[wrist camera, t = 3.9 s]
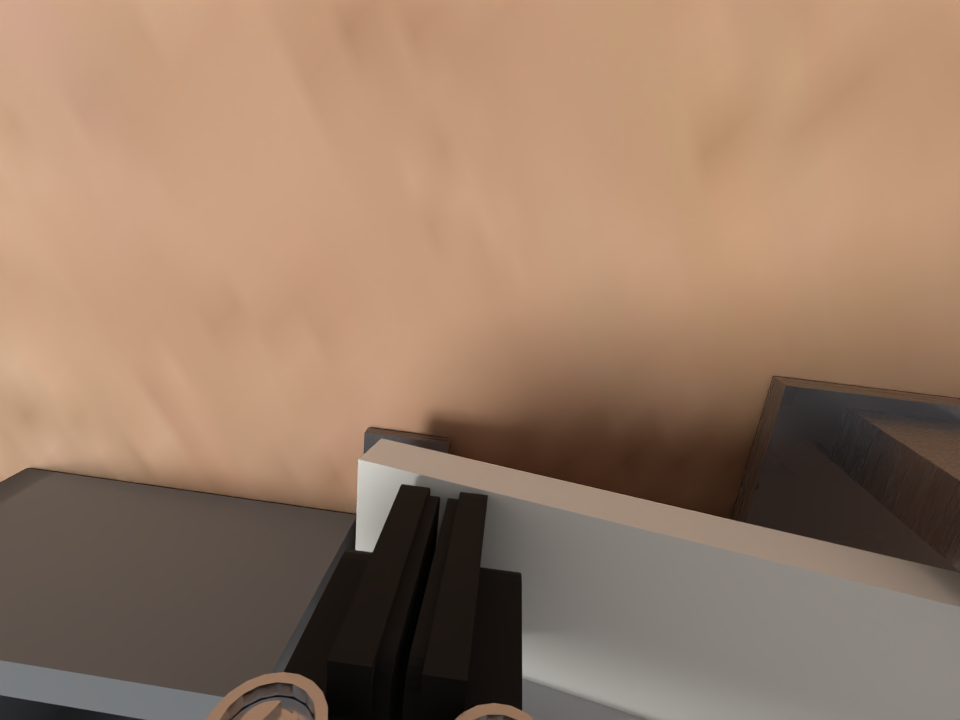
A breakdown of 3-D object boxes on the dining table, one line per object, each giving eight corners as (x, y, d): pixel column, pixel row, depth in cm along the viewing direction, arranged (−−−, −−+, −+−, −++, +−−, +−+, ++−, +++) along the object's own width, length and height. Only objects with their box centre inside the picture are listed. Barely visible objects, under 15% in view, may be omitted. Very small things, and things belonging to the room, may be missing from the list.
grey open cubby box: (357, 515, 13) (255, 702, 8) (350, 740, 16) (267, 990, 11) (27, 468, 14) (-254, 618, 9) (69, 694, 16) (-134, 911, 11)
